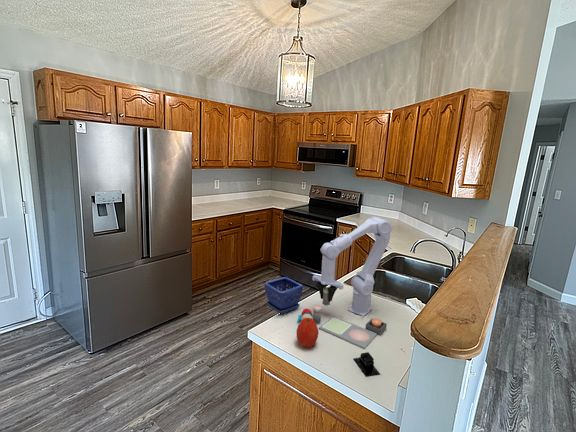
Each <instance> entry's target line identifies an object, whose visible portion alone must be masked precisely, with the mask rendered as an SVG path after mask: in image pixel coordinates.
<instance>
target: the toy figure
mask: <svg viewBox="0 0 576 432" xmlns="http://www.w3.org/2000/svg"><path fill="white" fill-rule="evenodd" d="M304 318H311V319H313V312H312V311H311V309H310V308H304V309H303V310H302V311H301V314H298V316H297V323H298V325H299V323H300V322H301V321H302V320H303V319H304Z"/></svg>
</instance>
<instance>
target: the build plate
mask: <svg viewBox="0 0 576 432" xmlns="http://www.w3.org/2000/svg"><path fill="white" fill-rule="evenodd" d="M352 360H353V362H354V363H355V364H356V366H357V367H358V368H359V370H360V371H361V373H362V374H363V375H364V376H365V377H366V378H368V377H369V378H370V377H375V376H376V377H377V376H381V373H380V371H379V370H378V369H377V368H376V366H375V361H374V360H375V358H374V357H373V356H372V355H371V354H370V352H369V351H367V352H361V353H360V354H359V357H354V358H352Z"/></svg>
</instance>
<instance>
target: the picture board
mask: <svg viewBox="0 0 576 432" xmlns="http://www.w3.org/2000/svg"><path fill="white" fill-rule="evenodd" d="M318 330H321V331H323V332H326V333H328V334H330V335H332V336H333V337H336V338H338V339H341V340H343V341H345V342H347V343H349V344H352V345H354V346H357V347H359V348H361V349H363V350H365V349H366V348H367V347H368V346H369V344H371V343H372V341H373V340H374V339H375V338H376V337H377V336H378V335H377V333H374V332H372V331H369V330H367V329H365V328H364V327H362V326H359V325H357V324H354V323H351V322H349V321H347V320H344V319H342V318H340V317H337V316H332V317H331V318H329V319H328V320H327V321H325V322H324V323H323V324H321V325H320V326H318Z"/></svg>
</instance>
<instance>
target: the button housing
mask: <svg viewBox="0 0 576 432" xmlns="http://www.w3.org/2000/svg"><path fill="white" fill-rule="evenodd" d="M372 319H373V317H372V318H370V320H369V321H367V322H366V323H365V328H364V329H367V330H369V331H372V332H374V333H377V336H379V337H381V336H382V335H383V333H384V332H385V331H386V330H387V326H388V323H386V322H383V321H382V322H381V327H379V328H377V327H374V326H372Z"/></svg>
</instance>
